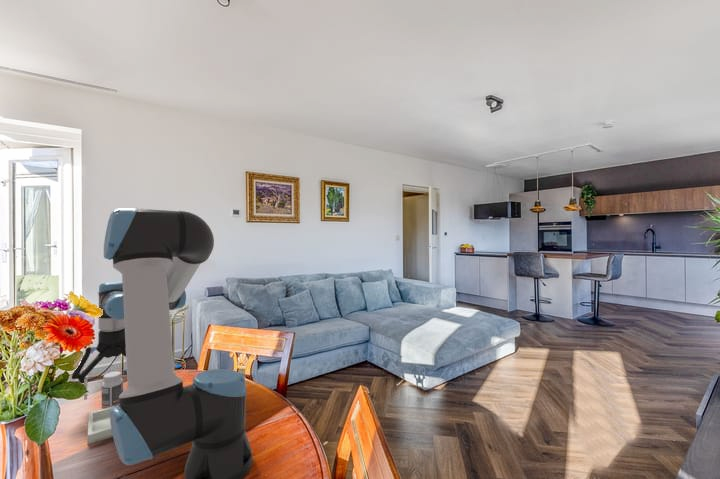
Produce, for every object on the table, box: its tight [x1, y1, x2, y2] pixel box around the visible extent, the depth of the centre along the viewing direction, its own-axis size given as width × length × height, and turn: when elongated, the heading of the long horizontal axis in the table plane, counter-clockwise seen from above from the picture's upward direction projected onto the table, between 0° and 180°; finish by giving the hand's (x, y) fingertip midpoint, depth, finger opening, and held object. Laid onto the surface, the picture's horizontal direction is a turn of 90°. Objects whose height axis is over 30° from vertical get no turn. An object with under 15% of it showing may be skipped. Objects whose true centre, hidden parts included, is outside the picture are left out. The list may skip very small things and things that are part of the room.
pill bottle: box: [101, 371, 124, 409], centre depth 107 cm, size 6×6×10 cm
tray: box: [87, 405, 119, 445], centre depth 96 cm, size 14×14×2 cm
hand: (112, 391), depth 107 cm, fingers open, 13 cm apart
